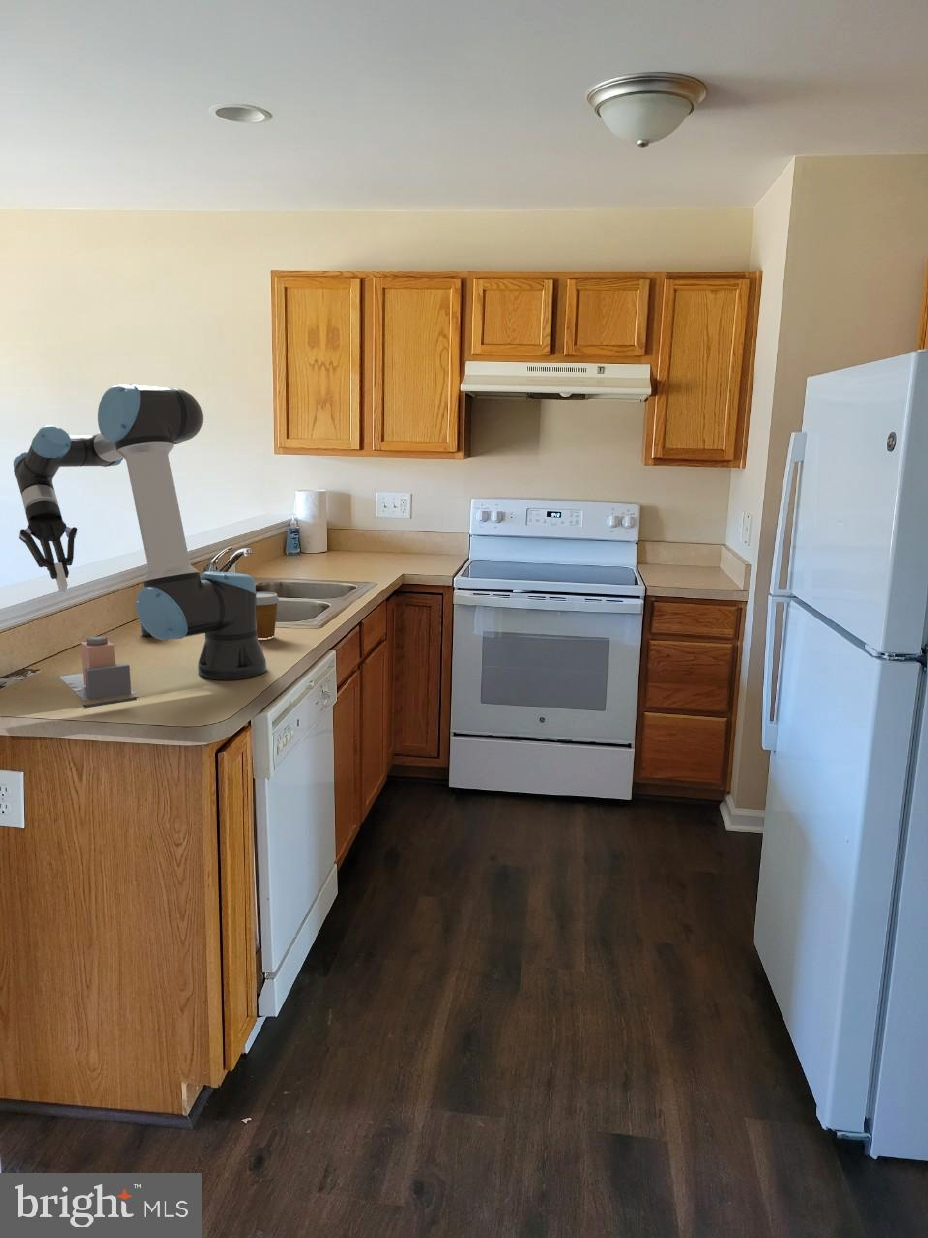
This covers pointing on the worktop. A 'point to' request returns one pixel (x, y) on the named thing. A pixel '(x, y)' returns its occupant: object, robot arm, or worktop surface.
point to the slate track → (102, 684)
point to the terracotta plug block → (97, 653)
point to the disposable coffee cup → (266, 613)
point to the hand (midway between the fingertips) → (63, 588)
